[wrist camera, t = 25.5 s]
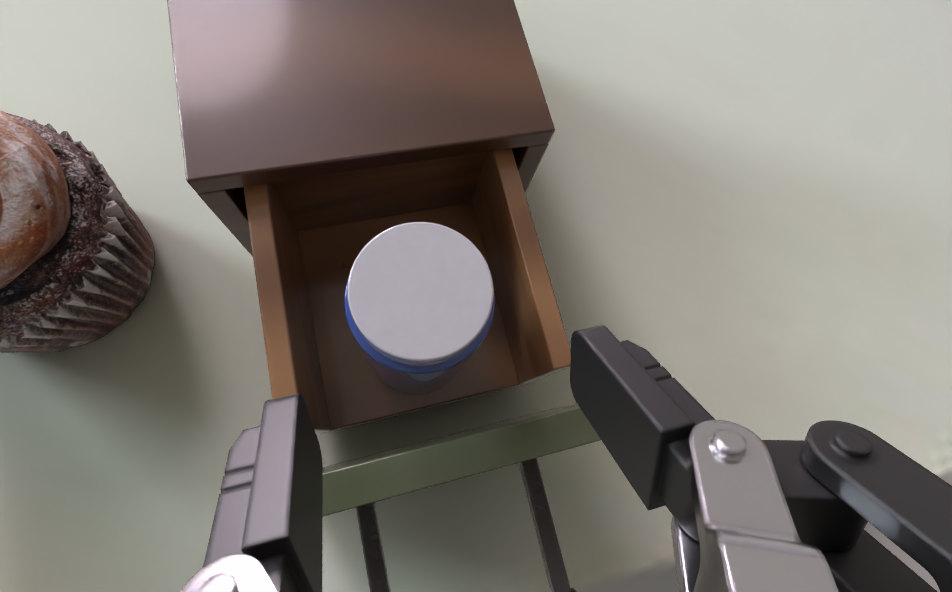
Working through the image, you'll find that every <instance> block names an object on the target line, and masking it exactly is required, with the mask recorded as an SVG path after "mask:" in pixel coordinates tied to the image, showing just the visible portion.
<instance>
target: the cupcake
mask: <svg viewBox="0 0 952 592" xmlns="http://www.w3.org/2000/svg"><path fill="white" fill-rule="evenodd" d="M154 264H155V254H154V249H153V244H152V241H151V238H150V236H149V234H148V232H147V231H146V229H145V228H144V226H143V224H142V223H141V221H140V220H139V218H138V217H137V216H136V214H135V213H134V211H133V210H132V209H131V207H130V206H129V205H128V204H127V202H126V201H125V200H124V198H123V197H122V195H121V193H120V192H119V190H118V189H117V187H116V185H115V183H114V182H113V180H112V179H111V178H110V177H109V175H108V174H107V172H106V170H105V168H104V167H103V165H102V164H100V163H99V161H98V160H97V158H96V156H95V155H94V153H93V151H88V150H87V149H86V147H85V146H84V145H83V144H82V142H81V141H80V142H73V140H72V138H71V137H70V135H69V133H68V132H67V131H63V132H62V133H61V134H58V133H57V132H56V130H55V129H54V128H53V127H52V126H51V125H50V124H47V125H45V126H43V125H41V124H38V123H37V122H36V121H35V120H33V121H30V120H28V119H25V118H22V117H19V116H15V115H12V114H8V113H5V112H2V111H0V353H3V352H50V351H63V350H65V349H67V348H70V347H72V346H79V345H83V344H86V343H89V342H92V341H95V340H97V339H99V338H101V337H103V336H105V335H106V334H108V333H109V332H110V331H112V330H113V329H114V328H116V327H117V326H118V325H120V324H121V323H123V322H124V321H125V320H127V319H128V318H129V316H130V315H131V313H132V312H133V311H134V309H135V308H136V307H137V306H138V305H139V304H140V302H141V301H142V300H143V299H144V296H145V293H146V291H147V290H148V288H149V286H150V283H151V275H152V269H153V267H154Z"/></svg>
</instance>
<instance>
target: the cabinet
mask: <svg viewBox="0 0 952 592" xmlns="http://www.w3.org/2000/svg"><path fill="white" fill-rule="evenodd" d="M167 3H168V13H169V22H170V31H171V41H172V50H173V60H174V69H175V78H176V88H177V97H178V106H179V116H180V125H181V134H182V144H183V153H184V163H185V172H186V180H187V182H188V183H189V184H190V185H191V187H192V188H193V189H194V190H195V191H196V192H197V193H198V195H199V196H200V197H201V199H202V200H203V201H204V202H205V203H206V204H207V205H208V206H209V208H210V209H211V210H212V211H213V212H214V213H215V214H216V216H217V217H218V218H219V219H220V220H221V221H222V222H223V223H224V225H225V226H226V227H227V228H228V229H229V230H230V231H231V233H232V234H233V235H234V236H235V237H236V238H237V239H238V240H239V242H240V243H241V244H242V245H243V246H244V247H245V248H246V249H247V251H248V252H249V253H250V254H251V255H252V256H253V253H252V245H251V238H250V231H249V224H248V216H247V209H246V202H245V195H244V187H246V186H253V185H260V184H267V183H274V182H281V181H288V180H295V179H302V178H309V177H316V176H323V175H330V174H337V173H344V172H351V171H358V170H365V169H372V168H379V167H386V166H393V165H400V164H407V163H414V162H421V161H428V160H435V159H442V158H449V157H456V156H462V155H469V154H476V153H483V152H490V151H497V150H504V149H511V148H512V151H513V155H514V158H515V162H516V165H517V169H518V172H519V175H520V179H521V182H522V186H523V189H524V193H525V192H526V189H527V187H528V185H529V183H530V181H531V179H532V177H533V175H534V173H535V171H536V169H537V167H538V165H539V163H540V161H541V158H542V156H543V154H544V152H545V150H546V148H547V146H548V143H549V142H550V140H551V137H552V135H553V133H554V131H555V128H554V125H553V122H552V119H551V116H550V113H549V110H548V106H547V103H546V100H545V97H544V94H543V91H542V88H541V85H540V81H539V78H538V75H537V72H536V69H535V66H534V63H533V60H532V56H531V53H530V50H529V47H528V44H527V41H526V38H525V34H524V31H523V28H522V25H521V22H520V19H519V16H518V13H517V9H516V6H515V3H514V0H167Z"/></svg>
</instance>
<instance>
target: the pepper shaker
mask: <svg viewBox="0 0 952 592" xmlns="http://www.w3.org/2000/svg"><path fill="white" fill-rule="evenodd" d="M344 302H345V313H346V318H347V322H348V325H349V328H350V330H351V332H352V334H353V336H354V338H355V339H356V341H357V343H358V345H359V346H360V348H361V350H362V352H363V354H364V355H365V357H366V359H367V361H368V362H369V364H370V366H371V368H372V369H373V371H374V372H375V374H376V376H377V377H378V378H379V379H380V380H381V381H382V382H383V383H384V384H385V385H387V386H388V387H390V388H391V389H393V390H395V391H398V392H401V393H404V394H410V395H421V394H427V393H431V392H434V391H436V390H438V389H440V388H442V387H443V386H445V385H446V384H447V383H449V382H450V381H451V380H452V379H453V378H454V376H455V375H456V374H457V373H458V371H459V370H460V369H461V368H462V367H463V365H464V364H465V363H466V362H467V360H468V359H469V358H470V357H471V355H472V354H473V353H474V352H475V350H476V349H477V348H478V347H479V345H480V344H481V343H482V341H483V340H484V338H485V337H486V335H487V333H488V330H489V328H490V326H491V322H492V319H493V314H494V305H495V298H494V288H493V280H492V276H491V272H490V269H489V267H488V264H487V262H486V261H485V259H484V257H483V255H482V254H481V253H480V251H479V250H478V249H477V247H476V246H475V245H474V244H473V243H472V242H471V241H469V240H468V239H467V238H466V237H465V236H463V235H461V234H460V233H458V232H457V231H455V230H453V229H451V228H448V227H445V226H442V225H439V224H434V223H427V222H412V223H405V224H401V225H397V226H394V227H392V228H389V229H387V230H385V231H383V232H382V233H380V234H378V235H377V236H376V237H374V238H373V239H372V240H371V241H369V242H368V243H367V244H366V245H365V246H364V248H363V249H362V250H361V252H360V253H359V254H358V256H357V258H356V259H355V261H354V263H353V266H352V268H351V271H350V275H349V278H348V281H347V285H346V289H345V297H344Z"/></svg>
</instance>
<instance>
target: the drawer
mask: <svg viewBox="0 0 952 592" xmlns="http://www.w3.org/2000/svg"><path fill="white" fill-rule="evenodd" d="M244 195H245V202H246V209H247V216H248V224H249V231H250V238H251V245H252V253H253V260H254V267H255V274H256V282H257V289H258V296H259V303H260V311H261V318H262V325H263V332H264V340H265V347H266V354H267V361H268V369H269V376H270V383H271V390H272V398H273V399H277V398H281V397H285V396H290V395H294V394H299V393H301V394H302V396H303V398H304V400H305V403H306V406H307V409H308V412H309V415H310V418H311V421H312V424H313V427H314V430H315V433H316V435H318V434H322V433H326V432H330V431H335V430H339V429H343V428H347V427H351V426H355V425H359V424H363V423H367V422H372V421H376V420H380V419H384V418H388V417H392V416H396V415H400V414H405V413H409V412H413V411H417V410H421V409H425V408H429V407H433V406H438V405H442V404H446V403H450V402H454V401H458V400H462V399H466V398H471V397H475V396H479V395H483V394H487V393H491V392H495V391H499V390H503V389H508V388H512V387H516V386H520V385H524V384H528V383H531V382H534V381H536V380H539V379H541V378H544V377H546V376H549V375H551V374H553V373H556V372H558V371H561V370H563V369H566V368H568V367H570V366H571V350H570V347H569V343H568V340H567V337H566V333H565V330H564V326H563V323H562V319H561V316H560V313H559V309H558V306H557V302H556V299H555V295H554V292H553V289H552V285H551V282H550V278H549V275H548V271H547V268H546V265H545V261H544V258H543V254H542V251H541V247H540V244H539V241H538V237H537V234H536V230H535V227H534V223H533V220H532V217H531V213H530V210H529V206H528V203H527V199H526V196H525V193H524V189H523V186H522V182H521V179H520V175H519V172H518V169H517V165H516V162H515V158H514V155H513V151H512V148H511V149H504V150H497V151H490V152H483V153H476V154H469V155H462V156H456V157H449V158H442V159H435V160H428V161H421V162H414V163H407V164H400V165H393V166H386V167H379V168H372V169H365V170H358V171H351V172H344V173H337V174H330V175H323V176H316V177H309V178H302V179H295V180H288V181H281V182H274V183H267V184H260V185H253V186H246V187H244ZM412 222H427V223H434V224H439V225H442V226H445V227H448V228H451V229H453V230H455V231H457V232H458V233H460V234H461V235H463V236H465V237H466V238H467V239H468V240H469V241H471V242H472V243H473V244H474V245H475V246H476V247H477V249H478V250H479V251H480V253H481V254H482V255H483V257H484V259H485V261H486V262H487V264H488V267H489V269H490V272H491V276H492V280H493V288H494V298H495V305H494V314H493V319H492V322H491V326H490V328H489V330H488V333H487V335H486V337H485V338H484V340H483V341H482V343H481V344H480V345H479V347H478V348H477V349H476V350H475V352H474V353H473V354H472V355H471V357H470V358H469V359H468V360H467V362H466V363H465V364H464V365H463V367H462V368H461V369H460V370H459V371H458V373H457V374H456V375H455V376H454V378H453V379H452V380H451V381H450V382H449V383H447V384H446V385H445V386H443V387H442V388H440V389H438V390H436V391H434V392H431V393H427V394H421V395H410V394H404V393H401V392H398V391H395V390H393V389H391V388H390V387H388V386H387V385H385V384H384V383H383V382H382V381H381V380H380V379H379V378H378V377H377V376H376V374H375V372H374V371H373V369H372V368H371V366H370V364H369V362H368V361H367V359H366V357H365V355H364V354H363V352H362V350H361V348H360V346H359V345H358V343H357V341H356V339H355V338H354V336H353V334H352V332H351V330H350V328H349V325H348V322H347V318H346V313H345V302H344V297H345V289H346V285H347V281H348V278H349V275H350V271H351V268H352V266H353V263H354V261H355V259H356V258H357V256H358V254H359V253H360V252H361V250H362V249H363V248H364V246H365V245H366V244H367V243H368V242H369V241H371V240H372V239H373V238H374V237H376V236H377V235H378V234H380V233H382V232H383V231H385V230H387V229H389V228H392V227H394V226H397V225H401V224H405V223H412ZM599 440H601V439H600V437H599V436H598V434H597V433H596V431H595V430H594V428H593V427H592V425H591V424H590V422H589V421H588V419H587V418H586V416H585V415H584V413H583V412H582V410H581V409H580V407H579V406H578V405H572V406H566V407H560V408H554V409H550V410H546V411H542V412H538V413H534V414H530V415H526V416H523V417H519V418H515V419H511V420H507V421H503V422H499V423H495V424H491V425H487V426H483V427H480V428H476V429H472V430H468V431H464V432H460V433H456V434H452V435H448V436H444V437H440V438H437V439H433V440H429V441H425V442H421V443H417V444H413V445H409V446H405V447H401V448H397V449H394V450H390V451H386V452H382V453H378V454H374V455H370V456H366V457H362V458H358V459H354V460H351V461H347V462H343V463H339V464H335V465H331V466H327V467H323V508H322V517H323V516H326V515H330V514H334V513H337V512H341V511H345V510H348V509H352V508H356V510H357V516H358V522H359V528H360V534H361V540H362V546H363V552H364V557H365V563H366V569H367V575H368V581H369V587H370V592H391V591H390V585H389V580H388V574H387V568H386V563H385V557H384V552H383V546H382V540H381V535H380V529H379V524H378V518H377V513H376V507H375V502H377V501H381V500H385V499H388V498H392V497H396V496H399V495H403V494H407V493H410V492H414V491H417V490H421V489H425V488H428V487H432V486H436V485H439V484H443V483H447V482H450V481H454V480H457V479H461V478H465V477H468V476H472V475H476V474H479V473H483V472H487V471H490V470H494V469H498V468H501V467H505V466H508V465H512V464H516V463H519V466H520V470H521V474H522V478H523V482H524V486H525V490H526V494H527V498H528V502H529V506H530V510H531V514H532V518H533V522H534V526H535V530H536V534H537V538H538V542H539V546H540V550H541V554H542V558H543V562H544V566H545V570H546V574H547V578H548V582H549V586H550V590H551V592H576V590H575V589H574V588H570V585H569V581H568V577H567V573H566V569H565V566H564V562H563V558H562V554H561V550H560V546H559V543H558V539H557V535H556V531H555V527H554V523H553V520H552V516H551V512H550V508H549V504H548V500H547V496H546V493H545V489H544V485H543V481H542V477H541V473H540V470H539V466H538V462H537V458H538V457H541V456H545V455H548V454H552V453H556V452H559V451H563V450H567V449H570V448H574V447H578V446H581V445H585V444H589V443H592V442H596V441H599Z"/></svg>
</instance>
